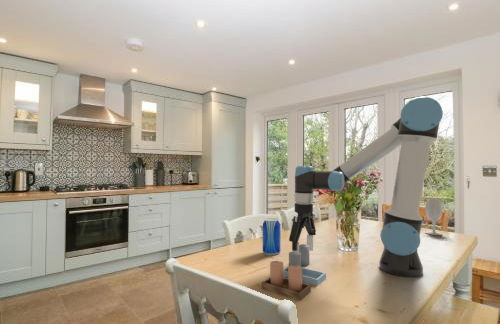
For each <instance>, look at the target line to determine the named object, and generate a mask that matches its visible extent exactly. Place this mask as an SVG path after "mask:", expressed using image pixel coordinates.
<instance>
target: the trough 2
mask: <svg viewBox="0 0 500 324" xmlns="http://www.w3.org/2000/svg"><path fill="white" fill-rule="evenodd" d="M301 267H302V283H304V284H308V285H311V286H316V287H318V286H319V285H321V283H323V282H324V281H326V280H327V272H325V271H324V272H323V271H319V270H315V269H310V268H306V267H304V266H301ZM283 278H286V279H288V266H287V267H285V268H283Z"/></svg>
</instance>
